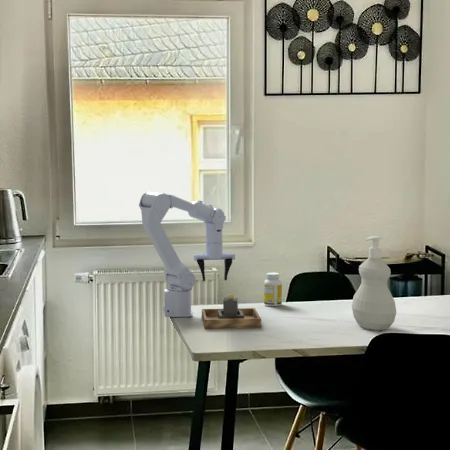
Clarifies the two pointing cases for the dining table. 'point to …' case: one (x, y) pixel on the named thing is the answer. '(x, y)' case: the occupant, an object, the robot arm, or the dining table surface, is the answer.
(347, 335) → the dining table surface
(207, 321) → the walled box
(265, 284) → the pill bottle
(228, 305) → the connector plug
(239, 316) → the collar
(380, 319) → the soap bottle
